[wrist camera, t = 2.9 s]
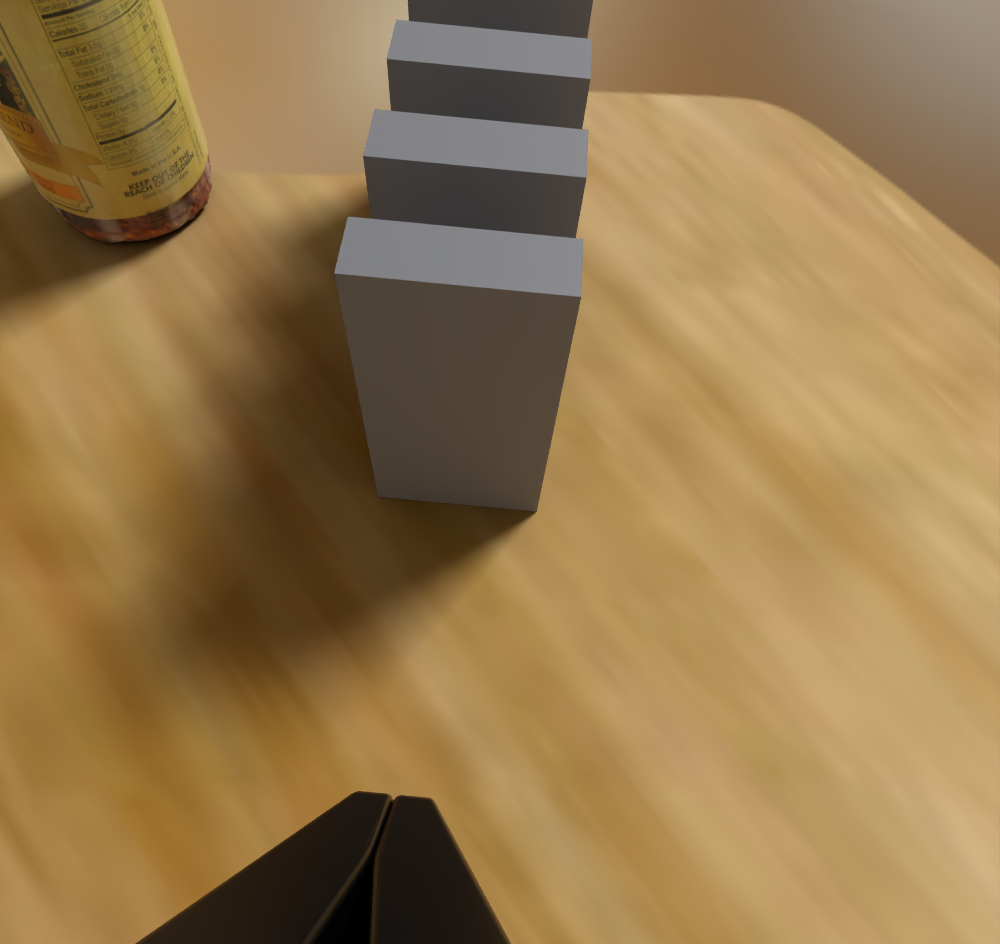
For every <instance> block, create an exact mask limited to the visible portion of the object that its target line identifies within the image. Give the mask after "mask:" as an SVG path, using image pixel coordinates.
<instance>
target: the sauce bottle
mask: <svg viewBox="0 0 1000 944" xmlns="http://www.w3.org/2000/svg"><path fill="white" fill-rule="evenodd" d="M0 128H1V130H2V131H3V133H4V135H5V136H6V138H7V140H8V141H9V143H10V145H11V147H12V148H13V150H14V152H15V153H16V155H17V157H18V158H19V160H20V162H21V163H22V165H23V166H24V168H25V170H26V171H27V173H28V175H29V176H30V178H31V180H32V181H33V183H34V185H35V187H36V188H37V190H38V192H39V193H40V194H41V195H42V196H43V197H44V198H45V199H46V200H47V201H49V202H50V204H51V205H52V207H53V208H54V210H55V211H56V212H57V213H58V214H59V215H61V216H62V218H63V219H64V220H65V221H66V222H68V223H69V224H70V225H71V226H73V227H74V228H75V229H76V230H79V231H81V232H83V233H85V234H86V235H87V236H89V237H91V238H93V239H95V240H97V241H103V242H110V243H114V242H121V241H130V242H131V241H142V240H149V239H152V238H155V237H157V236H161V235H164V234H168V233H170V232H172V231H173V230H176V229H178V228H180V227H181V226H182V225H184V224H185V223H186V222H187V221H189V220H192V219H193V218H194V217H195V215H197V214H198V212H199V211H200V210H201V209H203V207H204V206H205V205H206V204H207V203H208V198H209V193H210V190H211V187H212V183H211V165H210V161H209V156H208V146H207V141H206V137H205V133H204V130H203V127H202V124H201V121H200V118H199V115H198V113H197V109H196V106H195V103H194V100H193V97H192V93H191V90H190V87H189V84H188V81H187V77H186V74H185V71H184V68H183V65H182V62H181V59H180V56H179V52H178V49H177V46H176V43H175V40H174V37H173V34H172V31H171V28H170V25H169V22H168V18H167V15H166V12H165V9H164V6H163V3H162V0H0Z"/></svg>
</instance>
